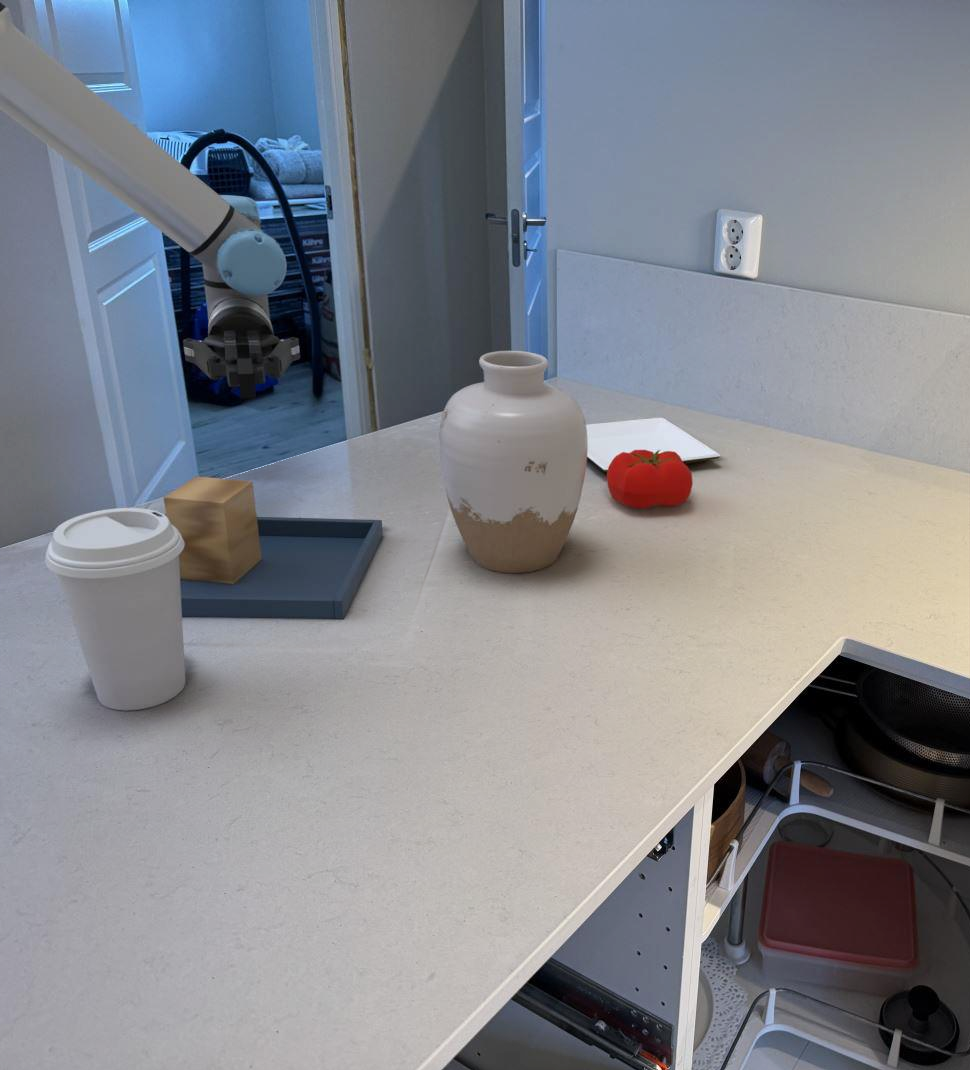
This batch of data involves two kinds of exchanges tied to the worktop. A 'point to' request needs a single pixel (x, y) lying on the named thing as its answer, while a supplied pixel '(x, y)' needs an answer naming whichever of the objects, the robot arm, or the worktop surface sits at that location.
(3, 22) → the robot arm
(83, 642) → the coffee cup
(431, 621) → the worktop surface
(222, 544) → the block
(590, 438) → the plate
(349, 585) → the tray
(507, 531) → the vase
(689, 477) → the tomato
